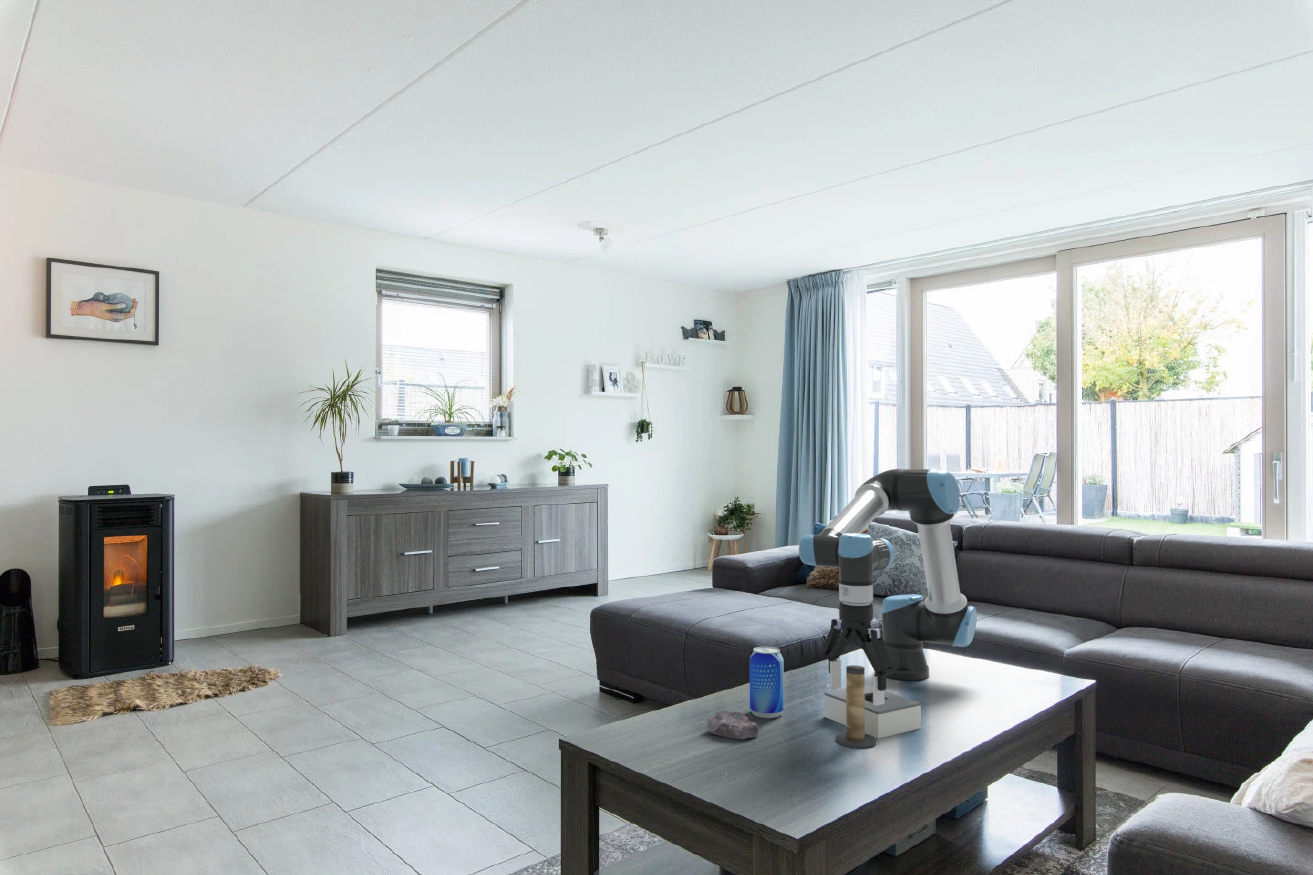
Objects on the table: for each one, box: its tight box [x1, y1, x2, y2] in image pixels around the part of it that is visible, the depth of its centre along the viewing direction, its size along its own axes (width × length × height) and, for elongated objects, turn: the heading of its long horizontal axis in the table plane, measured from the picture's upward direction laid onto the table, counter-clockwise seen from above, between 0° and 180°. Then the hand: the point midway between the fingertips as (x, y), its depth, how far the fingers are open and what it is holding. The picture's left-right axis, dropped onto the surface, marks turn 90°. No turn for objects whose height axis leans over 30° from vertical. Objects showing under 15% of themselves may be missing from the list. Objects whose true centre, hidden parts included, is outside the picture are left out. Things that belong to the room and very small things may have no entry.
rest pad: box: [835, 732, 877, 750], centre depth 186 cm, size 9×9×1 cm
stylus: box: [845, 665, 866, 742], centre depth 186 cm, size 4×4×16 cm
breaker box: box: [823, 684, 922, 739], centre depth 199 cm, size 18×14×6 cm
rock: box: [706, 710, 759, 741], centre depth 191 cm, size 8×11×5 cm
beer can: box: [749, 646, 785, 719], centre depth 206 cm, size 8×8×16 cm
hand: (856, 696), depth 186 cm, fingers open, 13 cm apart
